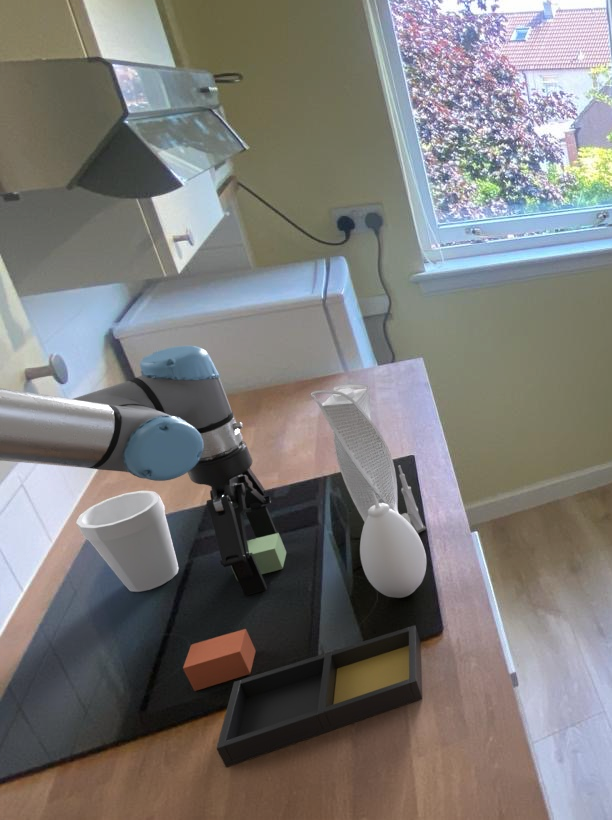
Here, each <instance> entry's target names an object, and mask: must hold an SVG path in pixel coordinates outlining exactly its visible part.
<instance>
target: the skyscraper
mask: <svg viewBox="0 0 612 820" xmlns="http://www.w3.org/2000/svg"><path fill="white" fill-rule="evenodd" d="M370 388H371V387H369V385H366V384H342V385H337V386H334V387H333V388H332V389H333V390H331V389H329V390H328V389H323V390H314V391H312V392H311V393H310V396H311V398H312V399H313V401H314V402H315V403H316V404H317V405H318V407H319V408H320V411H321V412H322V414H323V416H324V417H325V419H326V421H327V423H328V424H329V426H330V428H331V430H332V434H333V444H334V445H333V446H334V450H335V457H336V460H337V464H338V468H339V470H340V471H339V472H340V473H341V476H342V480H343V481H344V485H345V487H346V490H347V492H348V494H349V496H350V497H351V500H352V503H353V504H354V506H355V509H356V510H357V512H358V513H359V516H360V517H361V519H362V521H363V522H364V523H365V521H366V519H367V517H368V516H369V515H368V510H369V508H370V507H372V506H373V505H375V503H374V500H373V495H372V492H374V493H375V495H376V498H377V500H378V503H385V504H388V505H389V508H390V509H392V510H394V511H396V512H397V513H399V509H398V507H399V506H398V505H399V504H398V503H399V502H398V501H399V500H398V499H399V498H398V497H399V496H398V483H397V482H398V481H397V474H396V467H395V464H394V460H393V456H392V454H391V452H390V451H391V450H390V448H389V446H388V444H387V441H386V439H384V437H383V435H382V434H381V432H380V431H379V429H378V428H377V426H376V425H375V423H374V422H373V421H372V414H371V409H372V408H371V389H370ZM320 394H331V395H329V397H328V398H326V400H324V401H323V402H322V403H321V402H320V400H319V399H318V397H316V395H320ZM397 467H398V471H399V475H398V476H399V479H400V482H401V486H402V487H401V490H400V492H401V494H402V495H403V499H404V502H405V507H406V512H404V513H402V514H400V515H401V516H403V517H404V518H405V519H406V520H407V521H408V522H409V523H410V524H411V525H412V527H413V528H414V529H415V531H416V532H417V534H418V535H419V534H420V533H422V532H423V531H426V530H427V527H426V526H425V525H424V523H423V522H422V518H421V516H420V513H419V508H418V506H417V503H416V501H415V498H414V495H413V492H412V486H411V485H409V484H408V482H407V479H406V475H405V473H403V470H402V467H401V465H400V464H399V465H397ZM364 523H363V524H364Z"/></svg>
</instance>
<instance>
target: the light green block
mask: <svg viewBox="0 0 612 820" xmlns="http://www.w3.org/2000/svg"><path fill="white" fill-rule="evenodd" d="M247 543H248V549H249V553H253V556H254V558H255V560H256V563H257V565H258V567H259V570H260V572H261V574H262V575H265V574H268V573H272V572H276V571H279V570H283V569H284V565H285V561H286V556H287V550H286V548H285V545H284V543H283V539H282V538H281V535H280V533H279V532H277V533H276V534H272V535H268V536H264V537H260V538H256V537H255V538H252V539H247ZM230 567H231V570H232V572H233V574H234V575H233V576H234V578H235V579H236V581H237V582H238V580H237V577H236V575H235V573H234V571H233V568H232V566H230Z"/></svg>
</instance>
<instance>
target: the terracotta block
mask: <svg viewBox="0 0 612 820" xmlns="http://www.w3.org/2000/svg"><path fill="white" fill-rule="evenodd" d="M255 655H256V648H255V645H254V644H253V642H252V640H251V637H250V635H249V632H248V629H246V628H244V629H240V630H237V631H234V632H229V633H226V634H223V635H220V636H216V637H213V638H209V639H205V640H201V641H199V642H195V643H192V644H190V647H189V650H188V653H187V656H186V659H185V661H184V664H183V666H182V670H183V672H184V674H185V675H186V678H187V679H188V681H189V684H190V685H191V687H192V689H193V691H194V692H197V691H201V690H204V689H207V688H210V687H214V686H216V685H219V684H222V683H226V682H229V681H232V680H236V679H238V678H239V679H240V678H241V677H245V676H249V675H251V672H252V668H253V663H254V659H255Z"/></svg>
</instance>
